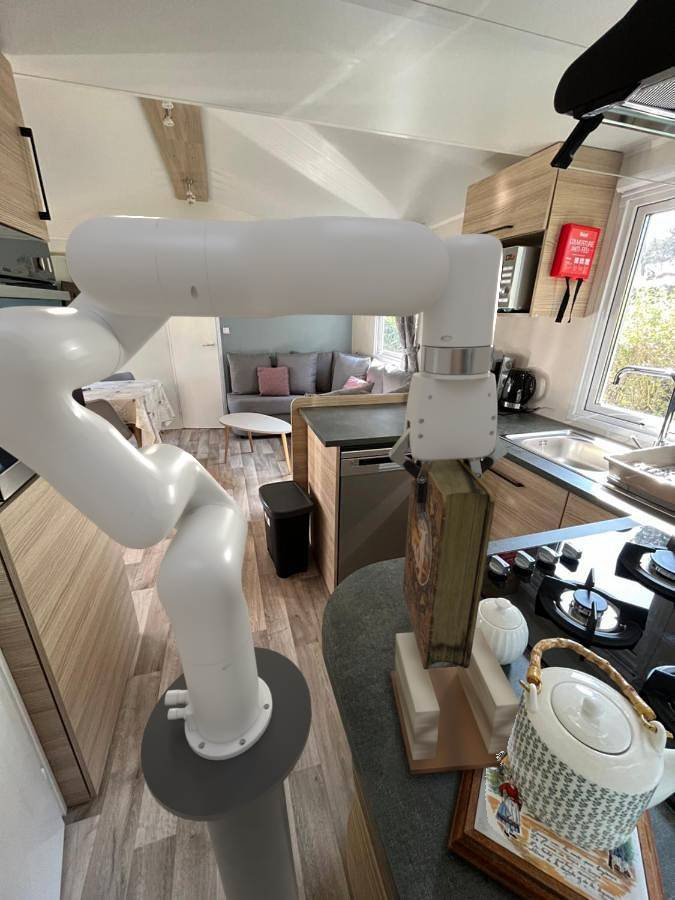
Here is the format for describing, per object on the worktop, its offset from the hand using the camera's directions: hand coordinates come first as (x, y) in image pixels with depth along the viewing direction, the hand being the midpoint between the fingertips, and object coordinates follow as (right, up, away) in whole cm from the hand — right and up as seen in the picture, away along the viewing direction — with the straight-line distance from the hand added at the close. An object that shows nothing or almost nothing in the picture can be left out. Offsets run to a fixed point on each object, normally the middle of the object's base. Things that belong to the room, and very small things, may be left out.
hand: (443, 504), depth 49 cm
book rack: (+2, -32, +7) cm, 33 cm away
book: (0, -19, +7) cm, 20 cm away
